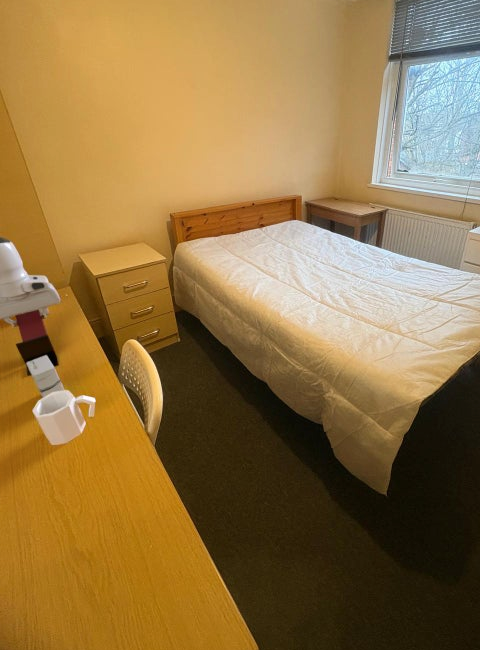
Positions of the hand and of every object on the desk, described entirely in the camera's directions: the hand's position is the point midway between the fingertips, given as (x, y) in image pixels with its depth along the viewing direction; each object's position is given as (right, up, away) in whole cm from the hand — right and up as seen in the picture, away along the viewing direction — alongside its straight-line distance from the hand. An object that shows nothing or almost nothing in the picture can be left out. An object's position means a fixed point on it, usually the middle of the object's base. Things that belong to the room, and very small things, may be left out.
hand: (30, 322), depth 109 cm
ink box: (+22, -20, -18) cm, 34 cm away
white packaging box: (-15, +1, +21) cm, 26 cm away
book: (+1, -5, 0) cm, 5 cm away
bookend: (+9, -13, -6) cm, 17 cm away
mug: (+34, -24, -26) cm, 49 cm away
